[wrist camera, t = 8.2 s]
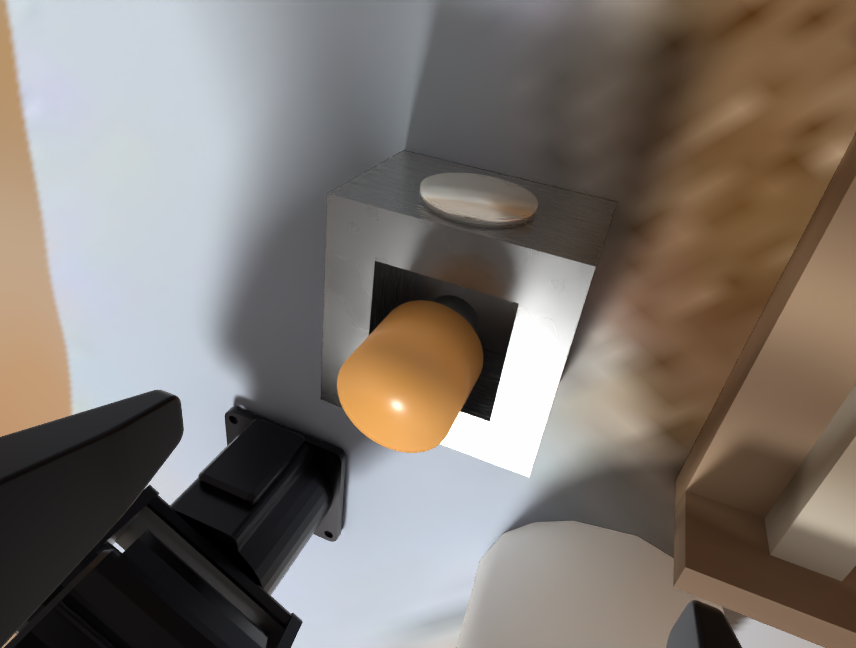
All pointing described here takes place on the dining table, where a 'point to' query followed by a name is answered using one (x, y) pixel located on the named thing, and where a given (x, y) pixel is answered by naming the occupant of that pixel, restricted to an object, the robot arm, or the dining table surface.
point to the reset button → (413, 374)
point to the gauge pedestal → (466, 282)
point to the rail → (785, 449)
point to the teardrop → (572, 591)
